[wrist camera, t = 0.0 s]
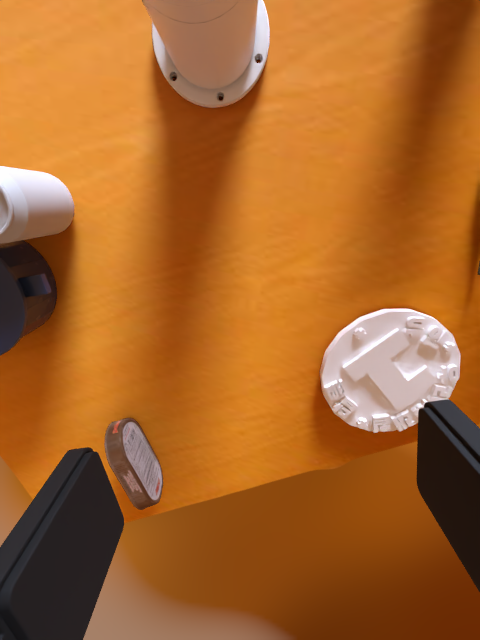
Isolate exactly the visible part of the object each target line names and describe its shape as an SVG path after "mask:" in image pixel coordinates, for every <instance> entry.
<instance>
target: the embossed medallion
mask: <svg viewBox="0 0 480 640" xmlns="http://www.w3.org/2000/svg"><path fill="white" fill-rule="evenodd" d="M460 355H461V354H460V352H459V349H458V347H457V344H456V342H455V339H454V337H453V335H452V334H451V333H450V332H449V331H448V330H447V329H446V328H445V327H444V326H443V325H442V324H441V323H439V322H438V321H437V320H436V319H434V318H433V317H431V316H429V315H426V314H423V313H420V312H417V311H414V310H412V309H382V310H379V311H376V312H373V313H370V314H367V315H364V316H361V317H359V318H358V319H356V320H355V321H353V322H352V323H351V324H349V325H348V326H347V327H345V328H344V329H342V330H341V331H340V332H339V333H338V334H337V335H336V337H335V338H334V340H333V341H332V342H331V344H330V345H329V347H328V348H327V349H326V351H325V354H324V357H323V361H322V365H321V368H320V380H321V388H322V393H323V395H324V397H325V399H326V401H327V402H328V404H329V406H330V407H331V409H332V411H333V412H334V414H336V415H337V416H338V417H340V418H341V419H342V420H344V421H345V422H346V423H348V424H349V425H351V426H354V427H358V428H360V429H364V430H367V431H373V432H374V433H378V431H382V432H386V431H395V430H399V432H400V431H403V429H404V430H405V429H407V428H408V427H411V426H413V425H415V424H417V423H418V412H419V409H420V408H424V404H425V403H426V402H431V401H438V400H445V399H447V400H449V399H448V398H450V395H451V393H452V391H453V389H454V387H455V384H456V382H457V380H458V379H459V375H460Z"/></svg>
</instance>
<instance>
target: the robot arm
mask: <svg viewBox="0 0 480 640" xmlns="http://www.w3.org/2000/svg"><path fill="white" fill-rule="evenodd" d="M142 2H143V4H144V6H145V8H146V10H147V12H148V14H149V16H150V18H151V20H152V40H153V48H154V52H155V56H156V59H157V62H158V65H159V67H160V69H161V71H162V73H163V75H164V76H165V78H166V80H167V81H168V83H169V84H170V85H171V86H172V87H173V89H174V90H175V91H176V92H177V93H178V94H180V95H181V96H182V97H183V98H184V99H186V100H188V101H190V102H191V103H193V104H196V105H199V106H202V107H210V108H217V107H224V106H227V105H230V104H232V103H235V102H236V101H238V100H240V99H241V98H243V97H244V96H245V95H246V94H247V93H248V92H249V91H250V90H251V89H252V88H253V87H254V85H255V84H256V82H257V81H258V79H259V77H260V75H261V73H262V71H263V69H264V66H265V63H266V59H267V56H268V49H269V38H270V29H269V20H268V15H267V12H266V8H265V4H264V2H263V0H142ZM258 59H259V60H260V61H261V62H260V63H257V62H256V60H258ZM173 77H177V79H176V80H175V81H173ZM220 96H221V97H223V100H222V101H220V100H219V97H220ZM417 486H418V489H419V491H420V494H421V496H422V498H423V499H424V501H425V503H426V504H427V506H428V507H429V509H430V511H431V512H432V514H433V516H434V517H435V519H436V521H437V522H438V524H439V526H440V527H441V529H442V531H443V532H444V534H445V536H446V537H447V539H448V540H449V542H450V544H451V546H452V547H453V549H454V551H455V552H456V554H457V555H458V557H459V559H460V560H461V562H462V564H463V565H464V567H465V569H466V570H467V572H468V574H469V575H470V577H471V579H472V580H473V582H474V584H475V585H476V587H477V588H478V590H479V592H480V429H479V427H478V426H477V425H476V424H475V423H473V422H472V421H471V420H470V419H469V418H468V417H467V416H466V415H465V414H464V413H463V412H462V411H461V410H460V409H459V408H458V407H457V406H456V405H455V404H454V403H453V402H452V401H450V400H447V399H445V400H438V401H431V402H426V403H425V404H424V408H420V409H419V412H418V447H417ZM123 526H124V517H123V514H122V511H121V509H120V506H119V504H118V501H117V499H116V496H115V494H114V491H113V489H112V486H111V484H110V481H109V479H108V476H107V474H106V471H105V469H104V466H103V464H102V461H101V459H100V456H99V454H98V453H97V452H94V451H93V450H92V449H91V448H89V447H87V448H80V449H72V450H69V451H68V452H67V453H66V454H65V455H64V457H63V458H62V460H61V461H60V462H59V464H58V465H57V467H56V468H55V470H54V471H53V472H52V474H51V475H50V477H49V478H48V480H47V481H46V482H45V484H44V485H43V487H42V488H41V490H40V491H39V492H38V494H37V495H36V497H35V498H34V500H33V501H32V502H31V504H30V505H29V507H28V508H27V510H26V511H25V513H24V514H23V516H22V517H21V518H20V520H19V521H18V523H17V524H16V525H15V527H14V528H13V530H12V531H11V533H10V534H9V536H8V537H7V538H6V540H5V541H4V543H3V544H2V545H1V547H0V640H83V638H84V635H85V632H86V629H87V627H88V624H89V621H90V619H91V616H92V613H93V610H94V608H95V605H96V602H97V599H98V597H99V594H100V591H101V588H102V586H103V583H104V580H105V577H106V575H107V572H108V569H109V566H110V564H111V561H112V558H113V555H114V553H115V550H116V547H117V544H118V542H119V539H120V536H121V533H122V531H123Z"/></svg>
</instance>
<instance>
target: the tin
mask: <svg viewBox="0 0 480 640" xmlns="http://www.w3.org/2000/svg"><path fill="white" fill-rule="evenodd" d="M105 452H106V456H107V460H108V463H109V465H110V467H111V469H112V470H113V472H114V474H115V475H116V477H117V479H118V480H119V482H120V484H121V485H122V487H123V489H124V490H125V492H126V494H127V495H128V497H129V499H130V501H131V502H132V504H133V505H134V506H135V507H136V508H137V509H139V510H143V509H145V508H147V507H150V506H153V505H155V504H157V503H158V502H159V501H160V498H161V493H162V487H163V475H162V470H161V466H160V463H159V461H158V459H157V457H156V455H155V453H154V451H153V449H152V447H151V446H150V444H149V442H148V440H147V438H146V436H145V434H144V433H143V431H142V429H141V427H140V425H139V424H138V423H137V422H136V421H135V420H134V419H132V418H126V419H122V420H119V421H114V422H112V423H111V424H110V425H109V426H108V428H107V430H106V434H105Z"/></svg>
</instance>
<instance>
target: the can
mask: <svg viewBox="0 0 480 640" xmlns="http://www.w3.org/2000/svg"><path fill="white" fill-rule="evenodd" d="M73 216H74V203H73V199H72V196H71V194H70V192H69V191H68V189H67V187H66V186H65V185H64V184H63V183H62V182H61V181H60V180H59V179H58V178H56V177H54V176H52V175H51V174H48V173H44V172H39V171H31V170H24V169H17V168H10V167H3V166H0V244H2V243H10V242H15V241H21V240H26V239H32V238H37V237H43V236H48V235H54V234H58V233H60V232H62V231H64V230H66V229H67V227H68V226H69V225H70V224H71V222H72V219H73Z"/></svg>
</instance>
